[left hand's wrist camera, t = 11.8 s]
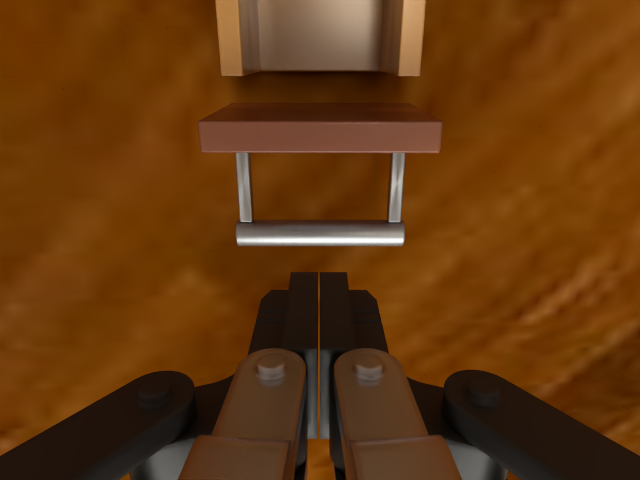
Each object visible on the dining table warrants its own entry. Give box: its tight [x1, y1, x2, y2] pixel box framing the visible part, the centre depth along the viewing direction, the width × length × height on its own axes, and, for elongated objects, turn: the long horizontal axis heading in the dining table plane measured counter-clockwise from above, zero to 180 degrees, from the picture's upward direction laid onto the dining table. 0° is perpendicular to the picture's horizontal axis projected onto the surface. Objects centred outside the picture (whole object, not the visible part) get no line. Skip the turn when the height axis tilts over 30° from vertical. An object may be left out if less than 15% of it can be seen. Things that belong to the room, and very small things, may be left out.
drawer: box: [198, 0, 443, 246], centre depth 18 cm, size 20×9×7 cm, turn 0°
